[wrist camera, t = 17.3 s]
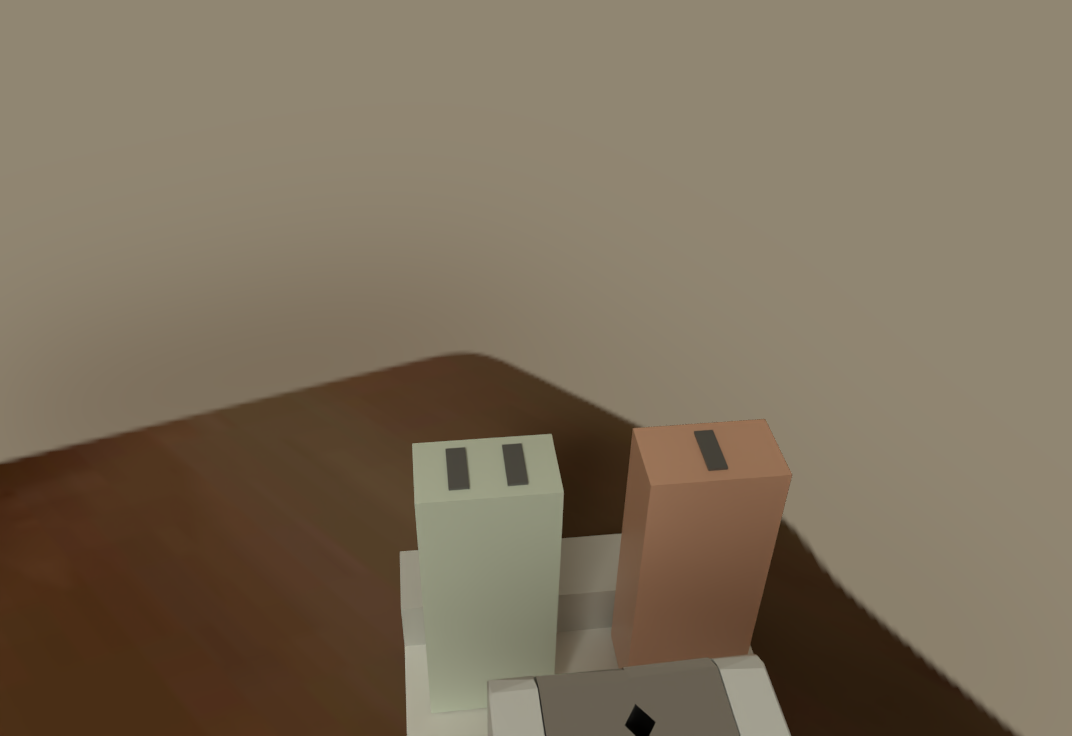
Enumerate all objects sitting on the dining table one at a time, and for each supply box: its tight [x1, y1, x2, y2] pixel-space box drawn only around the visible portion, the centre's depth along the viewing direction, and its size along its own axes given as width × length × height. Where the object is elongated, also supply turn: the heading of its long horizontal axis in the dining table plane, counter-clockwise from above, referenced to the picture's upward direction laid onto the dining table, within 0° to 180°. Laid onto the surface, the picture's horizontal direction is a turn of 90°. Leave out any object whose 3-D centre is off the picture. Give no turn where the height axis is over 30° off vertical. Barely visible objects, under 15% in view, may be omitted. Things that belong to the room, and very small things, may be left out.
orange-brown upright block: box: [611, 419, 792, 669], centre depth 38 cm, size 5×3×12 cm, turn 97°
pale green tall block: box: [412, 434, 564, 713], centre depth 37 cm, size 5×3×12 cm, turn 97°
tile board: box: [400, 533, 753, 736], centre depth 42 cm, size 15×10×4 cm, turn 97°
